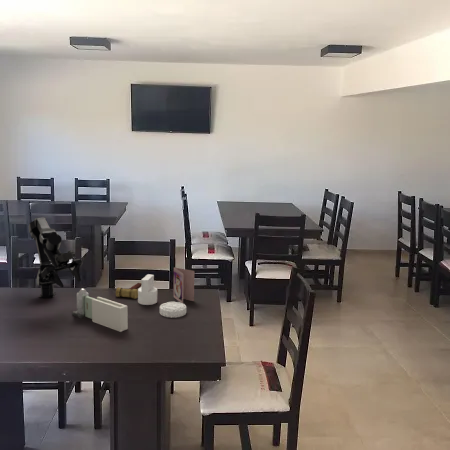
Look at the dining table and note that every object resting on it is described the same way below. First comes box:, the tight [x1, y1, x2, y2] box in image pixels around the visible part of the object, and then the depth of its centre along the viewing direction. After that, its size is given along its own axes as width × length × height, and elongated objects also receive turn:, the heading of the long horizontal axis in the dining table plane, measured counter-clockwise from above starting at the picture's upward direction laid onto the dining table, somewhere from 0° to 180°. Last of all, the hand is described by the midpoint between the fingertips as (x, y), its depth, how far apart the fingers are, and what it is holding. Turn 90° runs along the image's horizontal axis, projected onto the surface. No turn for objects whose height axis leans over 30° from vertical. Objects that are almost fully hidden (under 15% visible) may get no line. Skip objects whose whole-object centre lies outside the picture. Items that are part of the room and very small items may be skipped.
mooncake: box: [159, 301, 187, 319], centre depth 226 cm, size 12×12×4 cm
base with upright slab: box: [137, 273, 158, 306], centre depth 237 cm, size 9×9×12 cm
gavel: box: [115, 282, 141, 299], centre depth 251 cm, size 21×5×10 cm
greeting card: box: [172, 267, 195, 304], centre depth 241 cm, size 11×7×15 cm, turn 28°
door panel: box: [84, 296, 104, 320], centre depth 214 cm, size 12×1×9 cm, turn 55°
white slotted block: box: [91, 296, 129, 333], centre depth 209 cm, size 17×4×10 cm, turn 55°
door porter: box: [72, 288, 90, 319], centre depth 219 cm, size 6×5×12 cm
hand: (71, 284), depth 220 cm, fingers open, 9 cm apart
